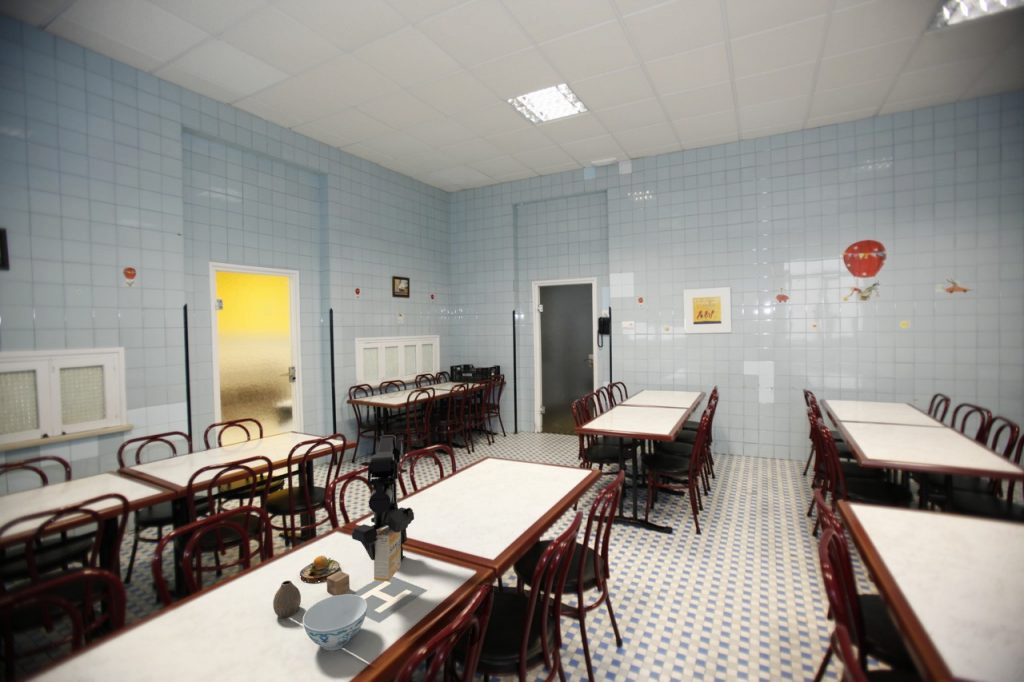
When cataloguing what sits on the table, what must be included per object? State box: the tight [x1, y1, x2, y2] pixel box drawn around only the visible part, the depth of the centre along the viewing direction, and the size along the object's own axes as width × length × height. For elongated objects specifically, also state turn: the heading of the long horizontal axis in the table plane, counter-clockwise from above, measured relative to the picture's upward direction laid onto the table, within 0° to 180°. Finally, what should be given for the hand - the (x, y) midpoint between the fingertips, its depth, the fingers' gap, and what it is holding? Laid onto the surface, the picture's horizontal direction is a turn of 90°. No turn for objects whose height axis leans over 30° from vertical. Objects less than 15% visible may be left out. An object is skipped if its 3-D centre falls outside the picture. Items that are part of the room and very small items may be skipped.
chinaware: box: [302, 593, 367, 652], centre depth 116 cm, size 15×15×8 cm
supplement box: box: [373, 526, 402, 582], centre depth 135 cm, size 8×5×13 cm, turn 169°
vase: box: [272, 580, 302, 619], centre depth 128 cm, size 7×7×9 cm
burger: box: [299, 555, 340, 583], centre depth 150 cm, size 12×12×8 cm
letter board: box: [351, 575, 428, 624], centre depth 135 cm, size 18×18×1 cm
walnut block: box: [326, 570, 350, 596], centre depth 138 cm, size 4×4×5 cm
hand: (385, 553), depth 135 cm, fingers closed on supplement box, 9 cm apart
